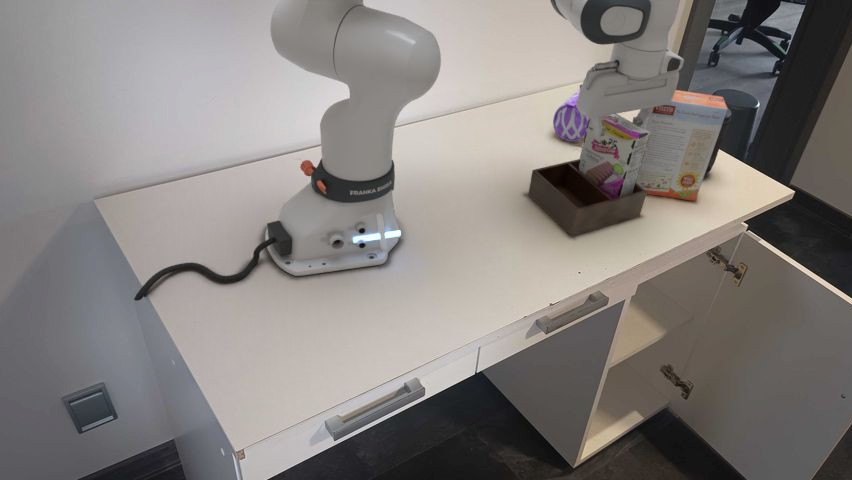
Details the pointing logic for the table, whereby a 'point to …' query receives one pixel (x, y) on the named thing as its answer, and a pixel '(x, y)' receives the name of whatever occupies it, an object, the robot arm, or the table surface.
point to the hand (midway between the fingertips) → (617, 131)
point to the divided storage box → (580, 199)
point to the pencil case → (570, 120)
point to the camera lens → (719, 141)
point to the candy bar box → (614, 155)
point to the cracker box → (680, 144)
